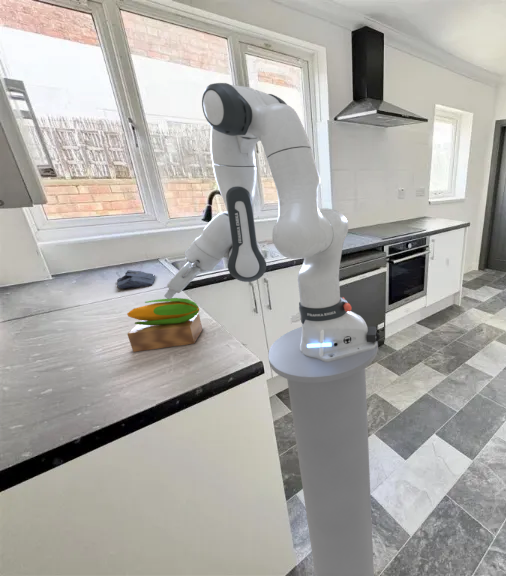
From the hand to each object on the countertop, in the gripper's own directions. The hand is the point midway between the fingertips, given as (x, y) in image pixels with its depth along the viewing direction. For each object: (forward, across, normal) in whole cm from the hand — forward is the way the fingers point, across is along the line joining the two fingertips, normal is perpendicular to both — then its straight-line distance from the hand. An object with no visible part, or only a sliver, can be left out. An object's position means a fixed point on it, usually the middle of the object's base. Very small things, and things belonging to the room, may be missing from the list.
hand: (173, 291), depth 92 cm
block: (+14, 0, -8) cm, 16 cm away
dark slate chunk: (+40, +72, +18) cm, 85 cm away
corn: (+10, 0, -4) cm, 11 cm away
